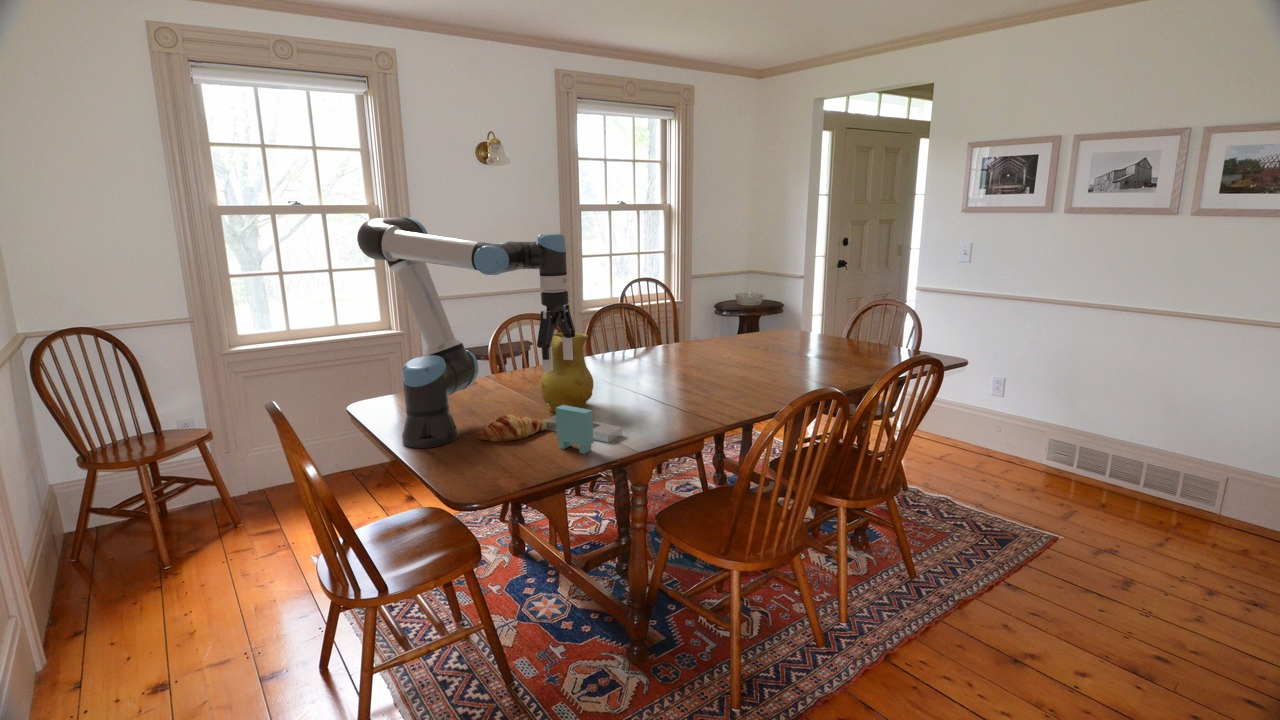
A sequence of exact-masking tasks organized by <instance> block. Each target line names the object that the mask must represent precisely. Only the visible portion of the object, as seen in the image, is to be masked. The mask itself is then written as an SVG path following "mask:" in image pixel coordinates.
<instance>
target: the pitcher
mask: <svg viewBox="0 0 1280 720" xmlns="http://www.w3.org/2000/svg"><path fill="white" fill-rule="evenodd" d="M562 338H565V337H564V336H563V334H562V332H554V334H553V337H552V341H551V345H550V347H552V360H553V371H543V373H542V376H541V380H540V393H541V397H542V398H543V401H544V402H545V403H546V404H547V403H548V405H549V407H547V411H549V412H552V413H554V414H556V407H559V406H561V405H567V406H572V407H577V408H583V409H587V408H588V407H587V406H586V403H587V402H588V401H589V400H590V399H591V398H592V396H593V389H594V378H593V376H592V373H591V372H590V369H588V367H587V365H586V360H585V356H584V344H585V343H586V341H587V340H588V338H589V336H588V335H587V334H585V333H579V332H575V337H571V338H572V350H573V360H564V359H563V340H562Z"/></svg>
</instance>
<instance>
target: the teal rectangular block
mask: <svg viewBox="0 0 1280 720" xmlns="http://www.w3.org/2000/svg"><path fill="white" fill-rule="evenodd" d="M555 415H556V427H557V432H556V440H557V441H558V443H559V445H558V446H559V449H562V450H565V449H567V448H569V447H571V446H572V444H575V445H579V447H578V448H579V453H580V454H583V455H585V454H586V453H589V452H591V451H592V444H594V440H593V422H594V421H593V410H591V409H587V408H586V409H583V408H577V407H572V406H567V405H561V406H559V407H556V413H555Z"/></svg>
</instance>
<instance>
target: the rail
mask: <svg viewBox="0 0 1280 720" xmlns="http://www.w3.org/2000/svg"><path fill="white" fill-rule="evenodd" d="M541 421H542V422H546V423H547V425H546V428H545V429H544V430H548V431H552V432H556V433H557V427H556V414H554V415H552V416H550V417H548V418H546V419H542V420H541ZM622 429H623V427H622V426H618V425H612V424H608V423H602V422H597V421H593V441H598V442H602V443H608V444H609V443H611V442H612V441H615V440H617V439H618V438H621V437H622V436H623V430H622Z"/></svg>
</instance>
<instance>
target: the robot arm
mask: <svg viewBox="0 0 1280 720" xmlns="http://www.w3.org/2000/svg"><path fill="white" fill-rule="evenodd" d="M356 238H357V240H356V241H357V243H358V244H357V245H358V247H359V250H360V251H361V252H362V253H363V254H364V255H365V256H366V257H368V258H370V259H372V260H377V261H386V263H387V265H388V267H389V270H391V271H393V272H395V273H396V274H397V277H398V278H399V281H400V283H401V286H402V287H403V291H404V293H405V296H406V299H407V301H408V304H409V306H410V308H411V311H412V313H413V316H414V318H415V320H416V321H415V322H416V324H417V326H418V328H419V331H420V333H421V336H422V338H423V341H424V345H425V346H426V352H425V354H424V355H423V356H419V357H417V356H416V357H415V358H412V359H409V360H408V361H407V362H405V363H404V365H403V367H402V377H401V378H402V379H401V380H402V383H403V384H402V385H403V392H404V393H403V394H404V402H405V411H406V412H405V413H406V417H405V421H404V426H403V427H404V428H403V430H402V431H403V432H402V433H401V437H402V439H401V440H402V443H403V445H404V446H406V447H410V448H414V449H416V448H417V449H429V448H436V447H440V446H445V445H447V444H451V443H452V442H454V441H455V440H457V438H458V437H459V436H458V428H457V426H456V424H455V420H454V418H453V416H452V415H451V411H450V403H449V402H450V401H449V396H451V395H454V394H455V393H457V392H459V391H462V390H465V389H467V388H468V387H469V386H471V385H472V384H473V383H474V382H475V381H476V379H477V376H478V374H479V362H478V360H477V358H476V356H475V354H474V353H473V352H470V351H469V350H468V349H465V346H464V344H463V341H461V340H459V339H456V337H455V335H454V332H453V330H452V327H451V325H450V322H449V320H448V317H447V315H446V311H445V309H444V307H443V304H442V302H441V299H440V296H439V293H438V291H437V288H436V286H435V284H434V283H435V282H434V281H433V278H432V275H431V274H430V270H429V268H428V266H427V264H433V265H440V266H446V267H453V268H458V269H459V268H460V269H467V270H472V271H477V272H478V271H479V272H480V273H482V274H483V275H485V276H486V275H487V276H497V275H500V274H503V273H509V272H514V271H519V270H538V271H539V285H540V286H539V289H540V290H541V292H540V301H541V303H540V304H541V305H542V306H544V307H546V309H545V310H541V311H540V322H539V329H538V335H537V343H536V346H537V348H538V349H541V359H542V360H541V361H542V371H543V372H545V371H553V360H552V347H550V345H551V341H552V337H553V334H554V333H555V330H556V328H557V327H559V330H560V331H561V332H560V333H562V334H563V336H564V337H565V338H562V340H563V359H564V360H573V350H572V338H571V337H575V333H576V328H575V325H574V322H573V319H572V315H571V311H570V304H569V291H568V290H567V289H569V288H568V287H569V286H568V283H569V278H568V270H567V268H568V267H567V249H566V248H567V247H566V239H565V236H564V234H561V233H545V234H544V233H543V234H538V235H537V239H536V241H506V242H505V241H504V242H500V243H498V244H497V243H491V242H490V243H489V242H481V241H475V240H470V239H469V240H467V239H463V238H461V239H460V238H455V237H449V236H442V235H441V236H439V235H435V234H434V235H433V234H429V233H428V230H427V229H426V228H425V226H424V225H423V224H422V223H421V222H420V221H418V220H416V219H414V218H411V217H407V216H406V217H405V216H397V217H375V218H371V219H368V220H366V221H365V222H363V224H361V225H360V227H359V229H358V231H357V236H356Z"/></svg>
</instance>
